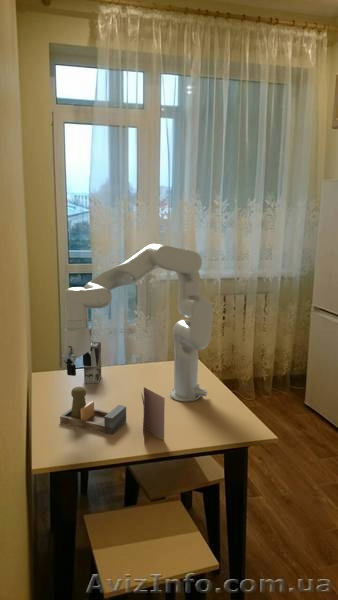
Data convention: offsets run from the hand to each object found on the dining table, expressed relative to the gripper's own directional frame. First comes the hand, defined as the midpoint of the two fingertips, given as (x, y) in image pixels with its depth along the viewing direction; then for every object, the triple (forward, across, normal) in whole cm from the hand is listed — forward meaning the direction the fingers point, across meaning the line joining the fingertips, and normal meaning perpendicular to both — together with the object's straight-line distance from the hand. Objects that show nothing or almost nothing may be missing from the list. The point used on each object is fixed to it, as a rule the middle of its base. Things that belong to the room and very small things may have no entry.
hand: (79, 370), depth 153 cm
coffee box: (+19, -34, -17) cm, 43 cm away
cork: (+18, 0, -1) cm, 18 cm away
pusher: (+17, 0, +3) cm, 18 cm away
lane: (+19, 0, +5) cm, 19 cm away
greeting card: (+19, 0, +28) cm, 34 cm away
